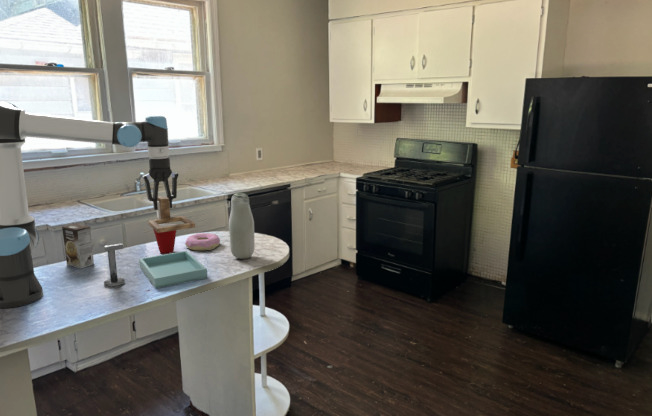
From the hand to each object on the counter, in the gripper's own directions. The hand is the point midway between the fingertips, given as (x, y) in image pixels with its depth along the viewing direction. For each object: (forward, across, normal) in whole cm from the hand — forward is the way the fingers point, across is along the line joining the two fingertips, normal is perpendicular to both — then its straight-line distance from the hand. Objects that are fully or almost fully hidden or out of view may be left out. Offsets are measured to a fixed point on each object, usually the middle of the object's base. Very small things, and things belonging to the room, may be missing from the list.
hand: (163, 217), depth 187 cm
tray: (+21, 0, -8) cm, 22 cm away
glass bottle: (+21, +30, -6) cm, 37 cm away
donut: (+21, +21, +18) cm, 35 cm away
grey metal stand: (+21, -21, -8) cm, 31 cm away
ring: (+1, 0, -8) cm, 8 cm away
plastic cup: (+21, +5, +19) cm, 29 cm away
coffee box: (+21, -29, +21) cm, 42 cm away
